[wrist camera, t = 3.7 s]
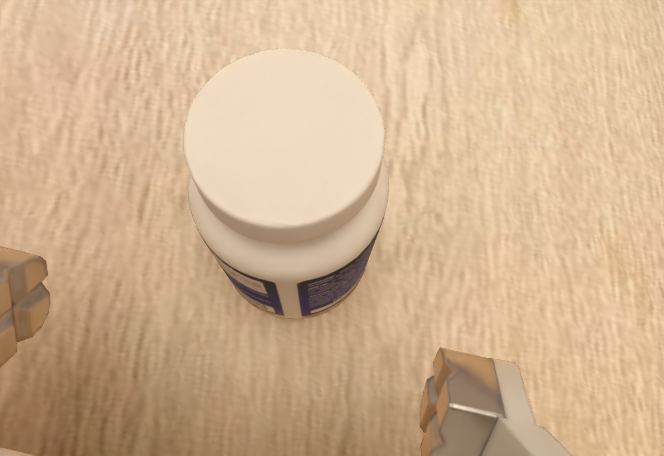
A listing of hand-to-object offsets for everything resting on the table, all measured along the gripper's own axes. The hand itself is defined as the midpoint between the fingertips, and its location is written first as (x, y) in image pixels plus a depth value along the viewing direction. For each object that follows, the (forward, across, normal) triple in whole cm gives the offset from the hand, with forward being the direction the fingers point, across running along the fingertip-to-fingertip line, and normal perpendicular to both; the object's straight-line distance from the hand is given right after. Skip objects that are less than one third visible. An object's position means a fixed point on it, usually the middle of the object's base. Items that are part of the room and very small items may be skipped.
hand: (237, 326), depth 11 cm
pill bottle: (+10, 0, -4) cm, 11 cm away
